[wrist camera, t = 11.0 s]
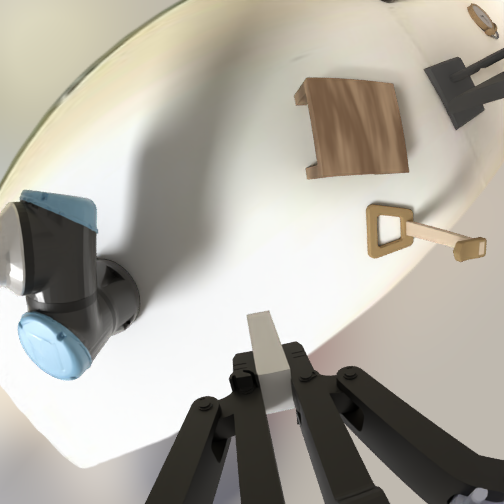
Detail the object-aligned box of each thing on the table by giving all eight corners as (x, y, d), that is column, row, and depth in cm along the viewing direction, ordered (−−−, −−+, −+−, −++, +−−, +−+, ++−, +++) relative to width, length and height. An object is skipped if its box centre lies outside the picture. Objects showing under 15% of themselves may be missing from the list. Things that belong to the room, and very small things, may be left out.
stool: (323, 177, 39) (409, 172, 39) (306, 77, 35) (393, 83, 36) (307, 179, 47) (383, 174, 48) (294, 95, 44) (370, 97, 45)
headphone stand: (365, 204, 49) (441, 216, 28) (409, 201, 50) (487, 211, 28) (367, 258, 51) (436, 296, 30) (410, 250, 52) (483, 280, 30)
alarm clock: (474, 0, 33) (504, 31, 34) (468, 6, 38) (497, 36, 39) (468, 6, 35) (500, 39, 35) (461, 13, 40) (493, 44, 40)
